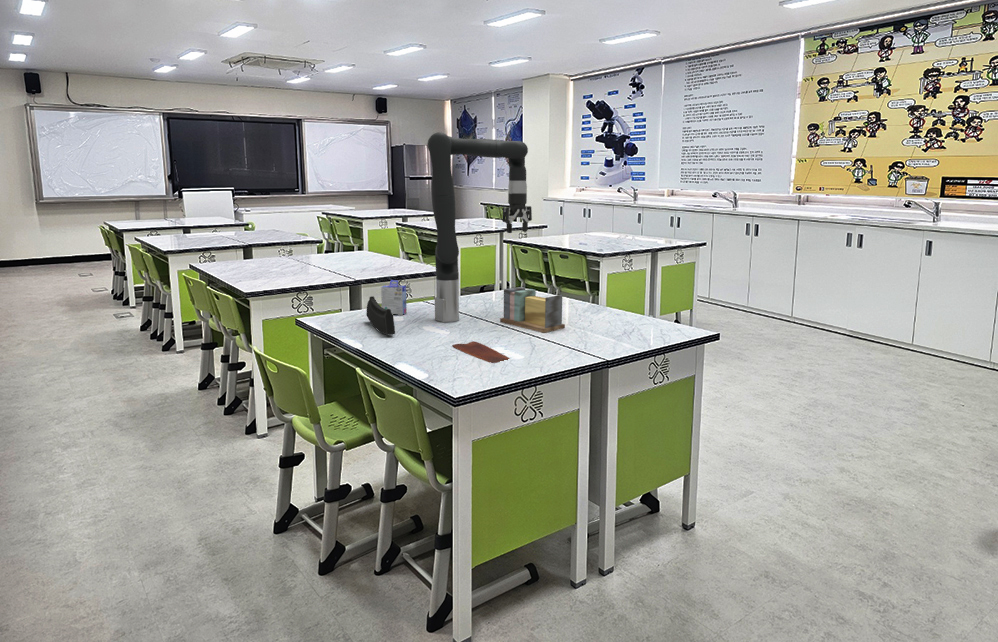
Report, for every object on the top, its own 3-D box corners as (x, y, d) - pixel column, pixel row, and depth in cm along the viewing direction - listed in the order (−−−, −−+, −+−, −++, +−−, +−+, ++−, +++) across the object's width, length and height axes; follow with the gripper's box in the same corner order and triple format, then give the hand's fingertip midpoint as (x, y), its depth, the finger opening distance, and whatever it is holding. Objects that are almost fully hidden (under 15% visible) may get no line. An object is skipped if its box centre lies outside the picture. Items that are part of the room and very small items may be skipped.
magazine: (396, 315, 251) (375, 280, 275) (387, 316, 250) (367, 280, 273) (394, 354, 259) (373, 317, 283) (385, 355, 258) (366, 318, 281)
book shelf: (543, 332, 263) (544, 298, 260) (500, 321, 282) (500, 289, 279) (564, 328, 271) (565, 294, 268) (521, 317, 289) (521, 286, 286)
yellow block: (546, 326, 267) (546, 301, 265) (524, 321, 276) (525, 297, 273) (555, 324, 270) (555, 300, 268) (533, 319, 279) (534, 295, 277)
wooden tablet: (450, 347, 244) (450, 343, 243) (474, 344, 249) (474, 339, 248) (488, 365, 221) (488, 360, 221) (514, 361, 227) (514, 356, 226)
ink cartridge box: (407, 312, 299) (406, 280, 295) (403, 315, 293) (402, 282, 290) (385, 312, 300) (384, 279, 297) (381, 314, 295) (380, 281, 292)
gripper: (523, 191, 285) (523, 230, 288) (498, 192, 276) (498, 232, 279) (536, 192, 279) (535, 232, 283) (510, 192, 270) (510, 234, 274)
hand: (517, 232), depth 281 cm, fingers open, 8 cm apart
